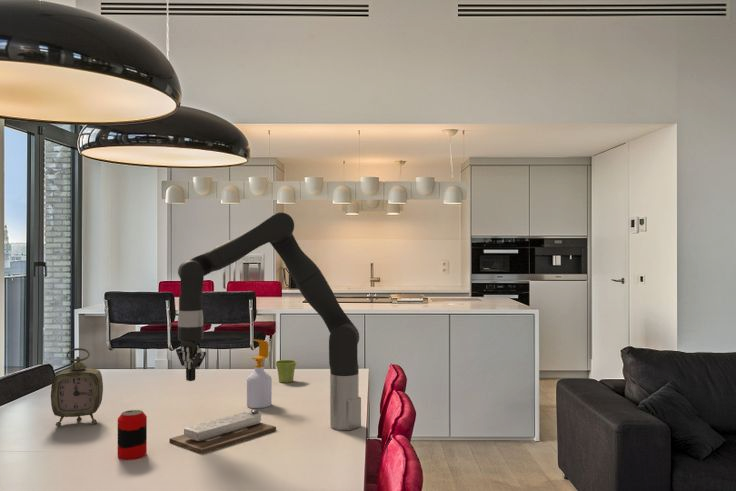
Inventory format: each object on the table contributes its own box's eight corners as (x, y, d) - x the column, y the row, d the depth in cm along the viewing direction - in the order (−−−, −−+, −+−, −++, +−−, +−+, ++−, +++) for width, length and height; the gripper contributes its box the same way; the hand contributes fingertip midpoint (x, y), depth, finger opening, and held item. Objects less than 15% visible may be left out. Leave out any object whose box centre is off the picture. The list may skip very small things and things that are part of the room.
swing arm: (266, 421, 192) (266, 411, 192) (198, 441, 172) (198, 430, 172) (252, 417, 197) (252, 407, 197) (184, 436, 177) (184, 425, 177)
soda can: (137, 449, 172) (137, 407, 172) (151, 455, 167) (151, 412, 167) (112, 456, 166) (112, 413, 166) (126, 462, 161) (126, 418, 161)
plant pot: (272, 380, 263) (272, 360, 263) (293, 378, 267) (293, 359, 267) (278, 384, 254) (278, 364, 254) (299, 382, 258) (299, 362, 258)
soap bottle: (241, 406, 218) (241, 339, 219) (257, 401, 226) (257, 336, 227) (261, 409, 214) (261, 341, 214) (276, 404, 222) (276, 338, 223)
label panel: (276, 430, 190) (276, 424, 190) (201, 453, 168) (201, 447, 168) (243, 421, 200) (243, 415, 200) (169, 442, 178) (169, 436, 178)
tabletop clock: (50, 429, 191) (50, 351, 191) (57, 421, 200) (57, 346, 200) (99, 425, 195) (99, 349, 195) (103, 418, 204) (104, 345, 204)
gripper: (213, 325, 184) (213, 381, 184) (188, 321, 192) (188, 375, 192) (192, 327, 178) (192, 385, 178) (167, 324, 186) (167, 379, 186)
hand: (190, 380), depth 185 cm, fingers closed
